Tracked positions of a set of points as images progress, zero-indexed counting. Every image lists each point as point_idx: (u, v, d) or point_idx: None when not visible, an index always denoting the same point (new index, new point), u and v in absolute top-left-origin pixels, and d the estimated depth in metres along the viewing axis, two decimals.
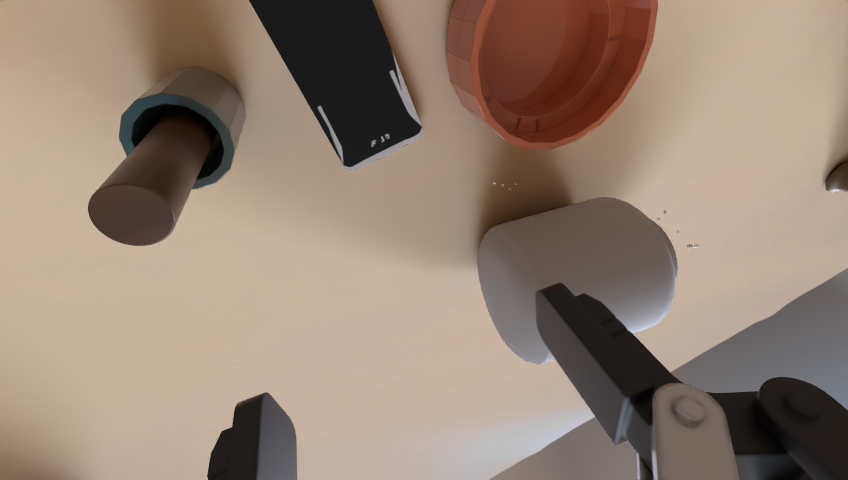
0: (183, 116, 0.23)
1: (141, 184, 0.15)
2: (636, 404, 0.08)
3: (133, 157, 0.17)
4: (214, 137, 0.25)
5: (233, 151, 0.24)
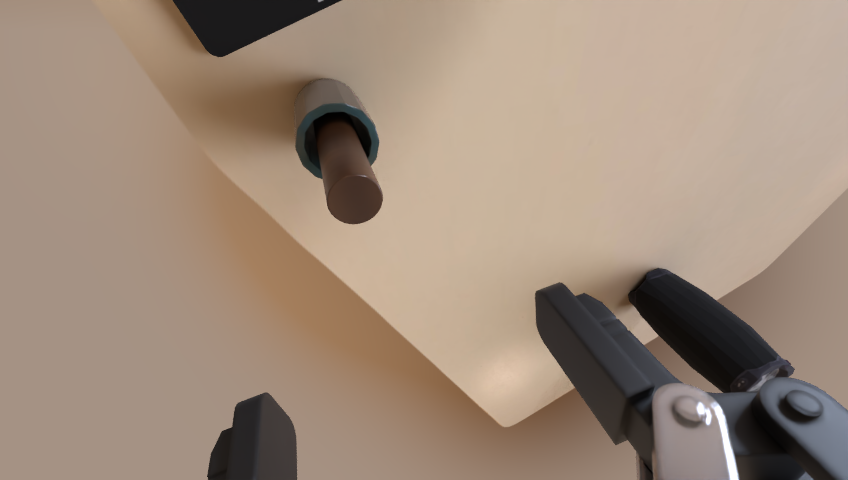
0: (316, 135, 0.27)
1: (328, 189, 0.20)
2: (636, 404, 0.08)
3: None
4: (340, 114, 0.29)
5: (344, 104, 0.26)
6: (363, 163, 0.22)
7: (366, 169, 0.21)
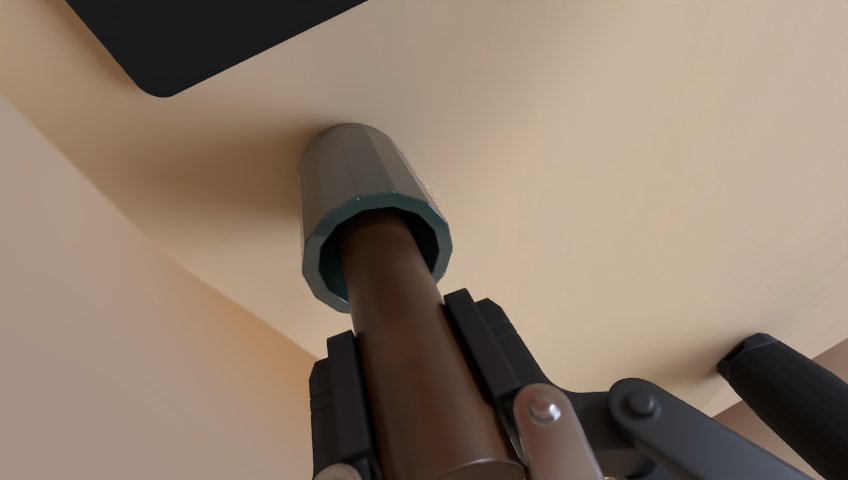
0: (340, 242, 0.15)
1: None
2: (506, 403, 0.09)
3: None
4: None
5: (396, 193, 0.13)
6: (467, 378, 0.09)
7: (482, 409, 0.08)
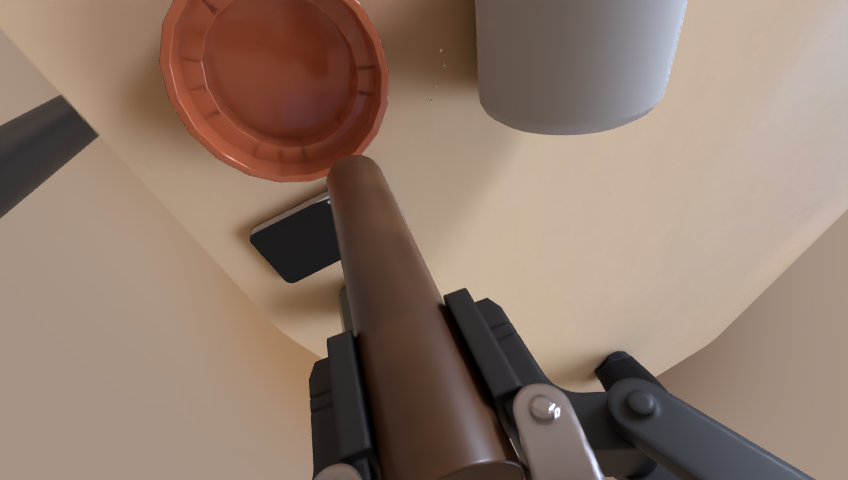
0: (340, 243, 0.15)
1: None
2: (506, 403, 0.09)
3: None
4: (380, 196, 0.16)
5: None
6: (467, 379, 0.09)
7: (482, 410, 0.08)
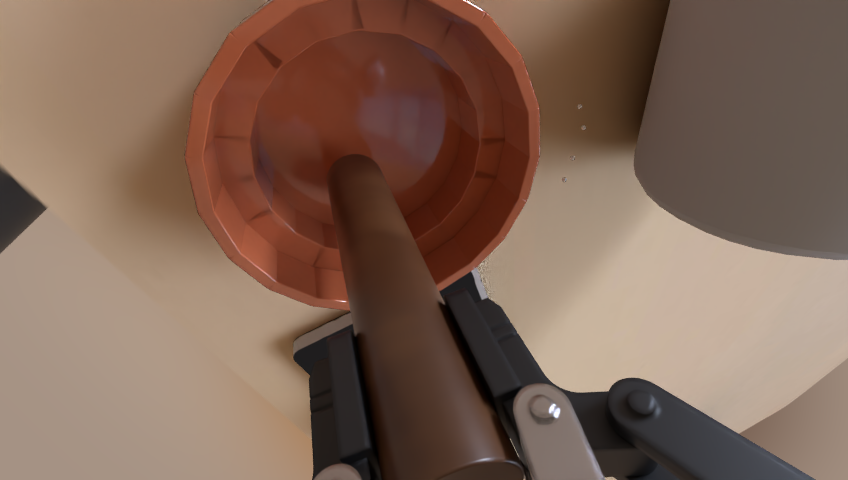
0: (340, 242, 0.15)
1: None
2: (507, 403, 0.09)
3: None
4: (380, 195, 0.16)
5: None
6: (467, 378, 0.09)
7: (482, 408, 0.08)
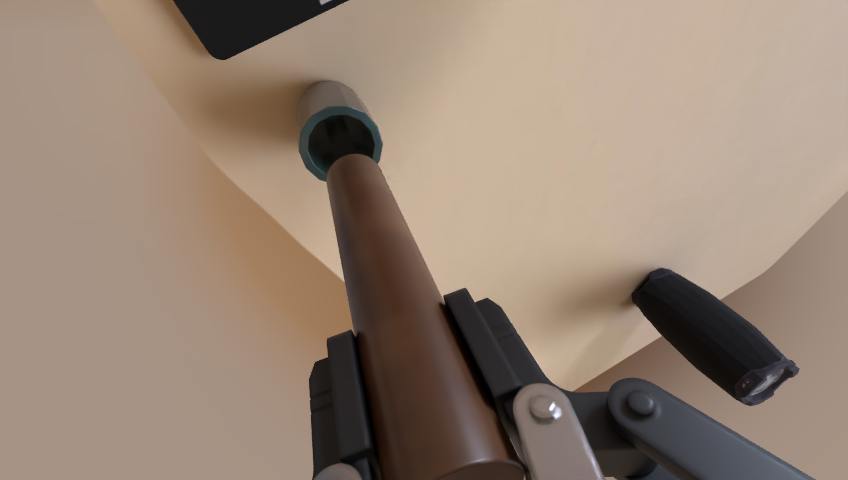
0: (340, 242, 0.15)
1: None
2: (506, 403, 0.09)
3: None
4: (380, 195, 0.16)
5: (347, 106, 0.26)
6: (467, 378, 0.09)
7: (481, 409, 0.08)
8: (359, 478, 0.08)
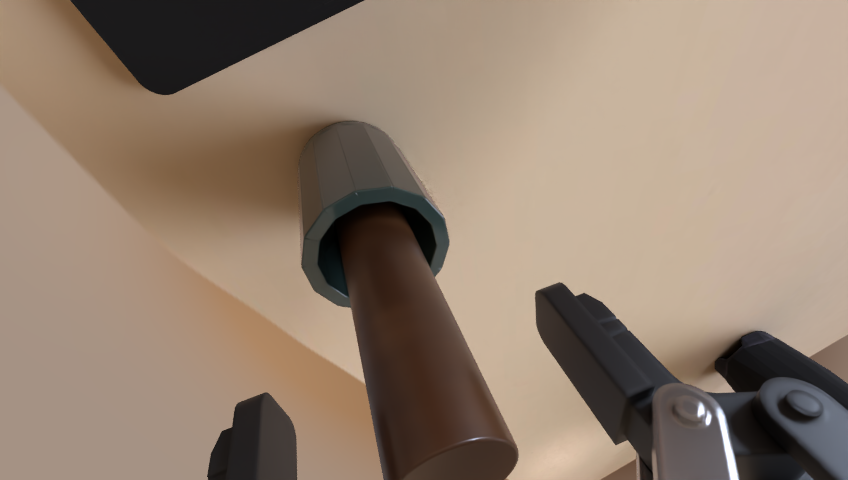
0: (340, 235, 0.15)
1: (394, 473, 0.08)
2: (636, 404, 0.08)
3: (367, 388, 0.10)
4: None
5: (394, 188, 0.14)
6: (463, 363, 0.09)
7: (477, 391, 0.09)
8: None
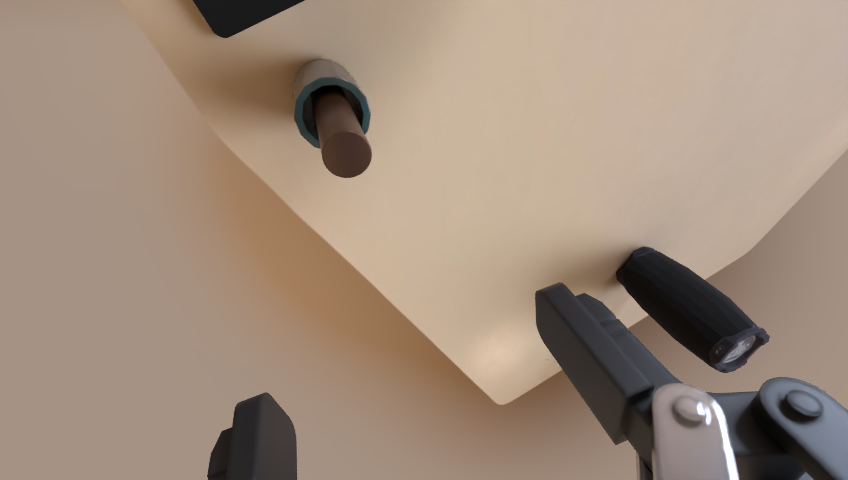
0: (314, 107, 0.30)
1: (323, 144, 0.23)
2: (636, 404, 0.08)
3: None
4: (335, 88, 0.31)
5: (338, 77, 0.29)
6: (354, 124, 0.24)
7: (357, 128, 0.24)
8: None
